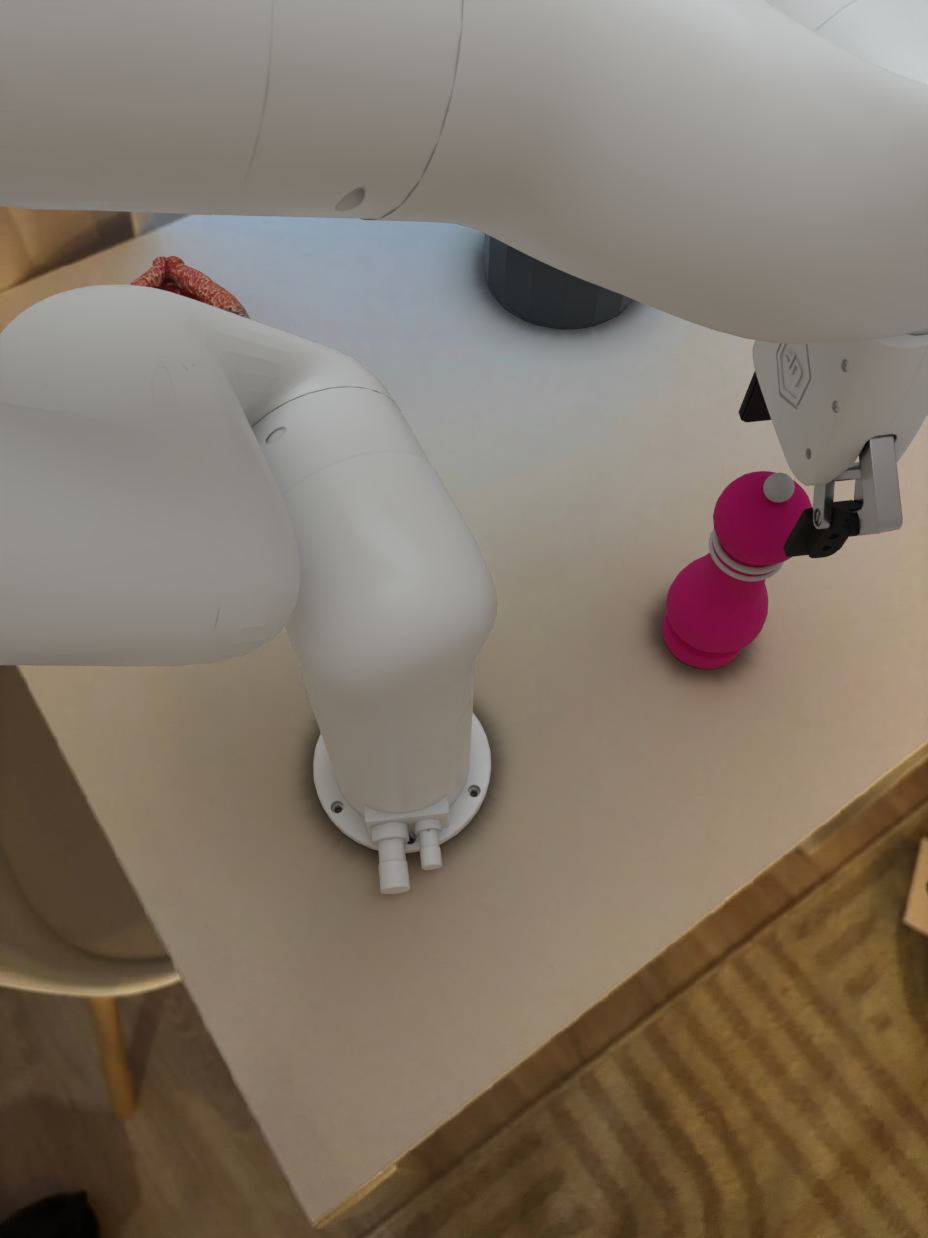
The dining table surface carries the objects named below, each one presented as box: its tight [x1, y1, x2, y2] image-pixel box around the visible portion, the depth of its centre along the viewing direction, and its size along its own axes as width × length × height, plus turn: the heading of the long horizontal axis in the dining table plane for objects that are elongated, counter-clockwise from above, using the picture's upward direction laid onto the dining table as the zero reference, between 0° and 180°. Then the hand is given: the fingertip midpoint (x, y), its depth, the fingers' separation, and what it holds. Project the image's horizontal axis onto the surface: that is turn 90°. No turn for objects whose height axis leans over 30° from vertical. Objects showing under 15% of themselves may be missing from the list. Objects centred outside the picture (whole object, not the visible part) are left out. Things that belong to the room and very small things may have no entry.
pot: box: [483, 233, 634, 330], centre depth 87 cm, size 15×15×8 cm
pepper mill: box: [661, 470, 813, 670], centre depth 64 cm, size 7×7×20 cm
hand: (785, 480), depth 56 cm, fingers open, 9 cm apart
